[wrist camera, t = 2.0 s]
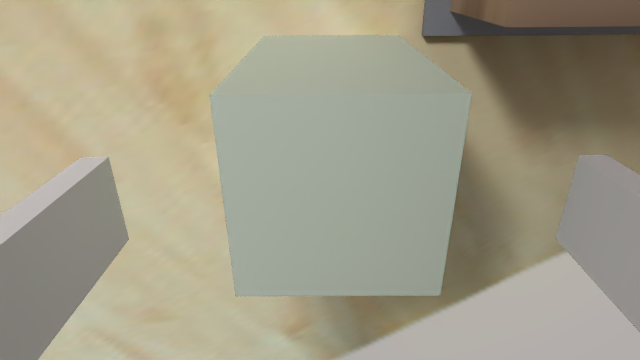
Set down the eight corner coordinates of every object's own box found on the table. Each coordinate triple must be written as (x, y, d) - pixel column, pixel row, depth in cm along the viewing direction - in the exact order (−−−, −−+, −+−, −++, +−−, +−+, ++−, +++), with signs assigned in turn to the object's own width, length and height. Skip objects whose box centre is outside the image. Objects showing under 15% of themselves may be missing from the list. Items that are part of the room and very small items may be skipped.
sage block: (263, 35, 18) (209, 94, 10) (398, 34, 18) (472, 92, 9) (272, 159, 21) (235, 296, 12) (389, 158, 21) (440, 295, 12)
